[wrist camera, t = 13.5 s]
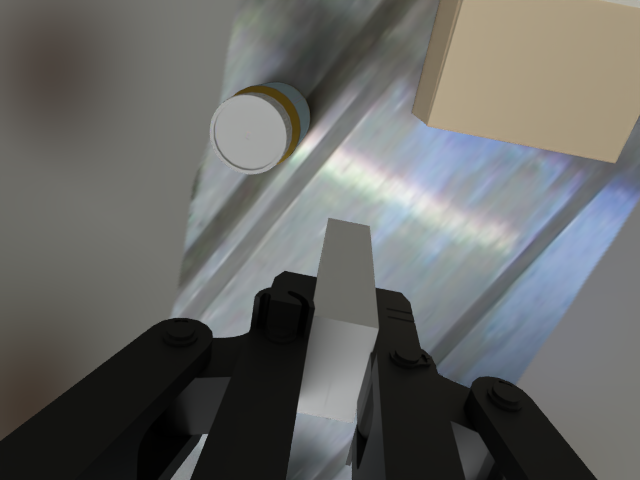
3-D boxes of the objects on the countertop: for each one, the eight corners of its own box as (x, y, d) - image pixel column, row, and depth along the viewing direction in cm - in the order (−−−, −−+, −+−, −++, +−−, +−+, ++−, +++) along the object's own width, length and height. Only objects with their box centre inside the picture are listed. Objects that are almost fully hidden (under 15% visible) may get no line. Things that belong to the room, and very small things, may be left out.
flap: (611, 160, 37) (616, 163, 36) (424, 124, 37) (426, 126, 36) (706, -30, 31) (715, -31, 30) (480, -74, 31) (483, -76, 30)
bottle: (281, 67, 46) (249, 67, 32) (324, 120, 48) (310, 142, 34) (234, 111, 48) (185, 129, 34) (277, 160, 50) (246, 196, 36)
